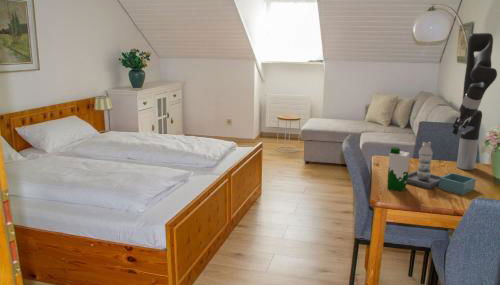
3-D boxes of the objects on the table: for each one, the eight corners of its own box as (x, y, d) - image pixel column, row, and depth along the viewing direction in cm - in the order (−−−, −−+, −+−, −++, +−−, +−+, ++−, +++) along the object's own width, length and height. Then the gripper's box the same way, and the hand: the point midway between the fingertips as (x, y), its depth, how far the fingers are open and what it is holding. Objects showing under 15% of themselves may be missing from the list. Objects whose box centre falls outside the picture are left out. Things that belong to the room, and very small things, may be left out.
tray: (416, 174, 232) (416, 170, 231) (445, 182, 220) (446, 177, 219) (400, 180, 222) (400, 176, 221) (429, 189, 210) (429, 184, 209)
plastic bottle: (428, 182, 216) (432, 144, 211) (414, 180, 220) (418, 142, 215) (431, 179, 221) (435, 141, 216) (418, 176, 225) (421, 139, 220)
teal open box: (450, 182, 219) (451, 172, 217) (474, 189, 210) (475, 178, 208) (438, 188, 211) (439, 177, 210) (462, 195, 202) (464, 183, 201)
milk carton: (389, 184, 217) (392, 145, 212) (408, 187, 213) (411, 148, 208) (385, 189, 210) (388, 149, 205) (404, 192, 205) (407, 152, 200)
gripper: (471, 95, 212) (459, 121, 223) (455, 105, 205) (444, 132, 215) (485, 102, 208) (473, 129, 218) (470, 113, 201) (458, 139, 211)
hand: (459, 130), depth 217 cm, fingers open, 8 cm apart
